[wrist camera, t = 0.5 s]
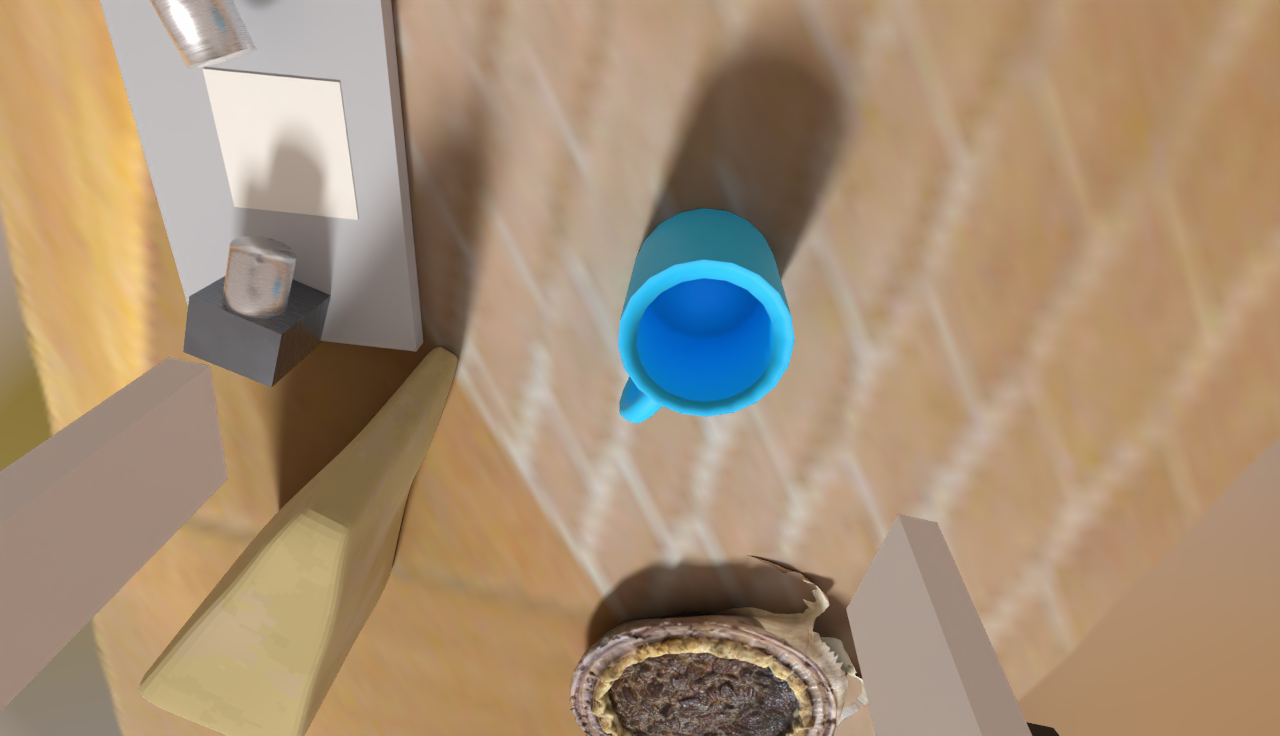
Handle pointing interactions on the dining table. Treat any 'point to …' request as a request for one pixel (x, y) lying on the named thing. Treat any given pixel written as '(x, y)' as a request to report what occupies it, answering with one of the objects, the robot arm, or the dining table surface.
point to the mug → (703, 318)
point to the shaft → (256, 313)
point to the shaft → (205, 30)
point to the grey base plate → (285, 154)
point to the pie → (715, 676)
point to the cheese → (304, 580)
